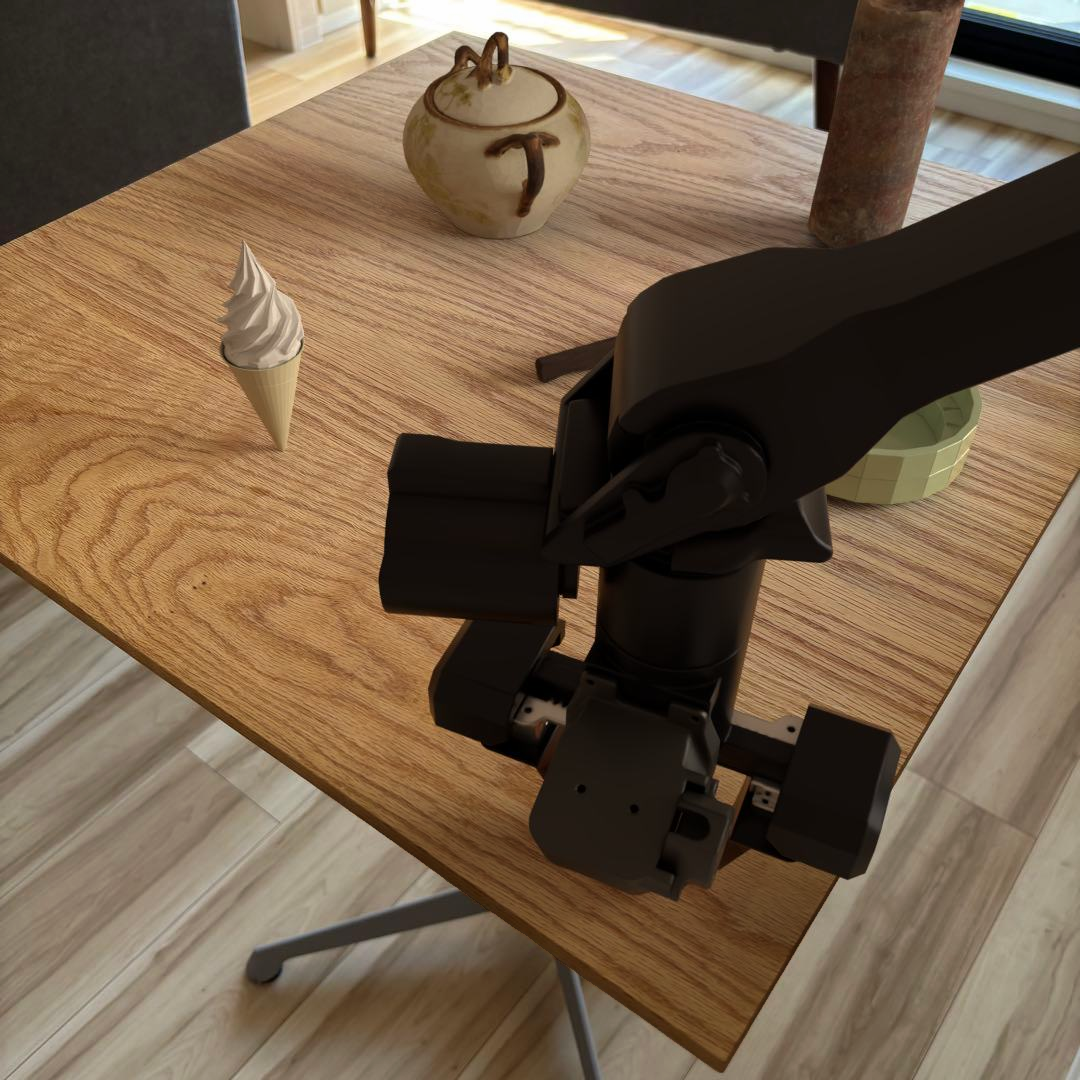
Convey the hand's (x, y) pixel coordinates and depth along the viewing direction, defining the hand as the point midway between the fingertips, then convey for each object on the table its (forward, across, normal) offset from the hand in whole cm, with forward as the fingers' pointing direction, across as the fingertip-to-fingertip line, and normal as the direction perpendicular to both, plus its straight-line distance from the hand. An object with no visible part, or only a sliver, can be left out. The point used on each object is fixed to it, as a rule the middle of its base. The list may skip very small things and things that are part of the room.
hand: (643, 832), depth 53 cm
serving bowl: (+1, +3, +34) cm, 34 cm away
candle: (+1, -3, +58) cm, 59 cm away
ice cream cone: (+1, -31, +17) cm, 36 cm away
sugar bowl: (+1, -31, +50) cm, 59 cm away
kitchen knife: (+1, -13, +38) cm, 40 cm away
